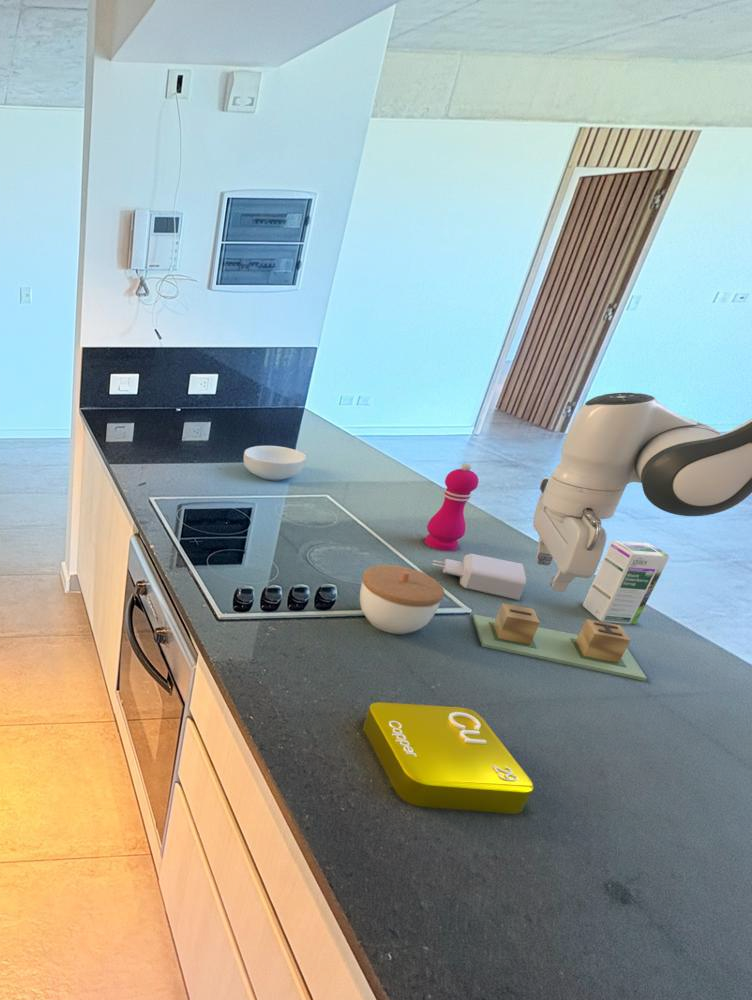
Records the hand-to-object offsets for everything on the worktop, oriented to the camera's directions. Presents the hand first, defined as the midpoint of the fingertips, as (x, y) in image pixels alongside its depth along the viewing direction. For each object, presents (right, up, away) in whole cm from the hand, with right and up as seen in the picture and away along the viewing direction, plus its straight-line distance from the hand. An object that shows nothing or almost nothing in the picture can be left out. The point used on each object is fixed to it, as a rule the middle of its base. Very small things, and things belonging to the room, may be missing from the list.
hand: (549, 575), depth 102 cm
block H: (+10, -13, +2) cm, 16 cm away
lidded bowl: (-20, -10, +11) cm, 25 cm away
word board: (+4, -13, +5) cm, 14 cm away
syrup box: (+22, -8, +14) cm, 27 cm away
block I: (-1, -11, +7) cm, 13 cm away
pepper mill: (+8, +4, +39) cm, 40 cm away
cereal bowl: (-15, +25, +79) cm, 85 cm away
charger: (+5, -3, +25) cm, 25 cm away
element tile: (-31, -25, -18) cm, 44 cm away
